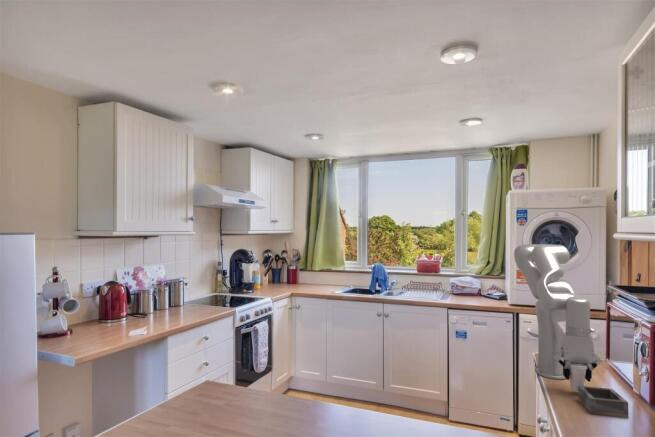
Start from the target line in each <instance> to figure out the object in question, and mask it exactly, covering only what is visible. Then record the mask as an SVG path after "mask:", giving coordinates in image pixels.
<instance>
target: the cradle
mask: <svg viewBox="0 0 655 437" xmlns="http://www.w3.org/2000/svg"><path fill="white" fill-rule="evenodd" d="M577 392H578V393H577V394H578V396H577V397H578V401H579V402H580V403H581V405H583V407H584V408H585V409H586V410H587V411H588V412H589V413H590V414H591V415H595V416H596V415H597V416H605V417H617V418H625V419H629V402H628V400H626V399H625V398H624V397H622V396H621V395H620V394H619V393H618V392H616V390H614V389H613V388H608V387H607V388H606V387H595V386H585V385H584V386H578V391H577Z"/></svg>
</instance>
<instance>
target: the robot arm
mask: <svg viewBox="0 0 655 437" xmlns="http://www.w3.org/2000/svg"><path fill="white" fill-rule="evenodd" d="M513 256H514V262H515V265H516V266H517V268H518V270H519V271H520V272H521V274H522V275H523V277H524V278H525V281H526V283H527V285H528V288H529V290H530V291H531V295H532V296H533V297H534V299H536V300H537V301H536V303H535V306H534V308H535V315H536V318H537V319H536V320H537V337H538V338H537V340H538V341H537V346H538V348H537V349H538V350H537V351H538V356H537V357H538V359H537V360H538V365H537V366H535V367H534V372H535V373H536V374H537V375H538V376H539V375H540V376H542V377H545V378H547V379H553V380H565V379H566V380H569V381H570V370H569V368H568V367H569V365H570V363H571V362H577V363H586V364H587V367H588V368H587V369H586V375H585V381H587V382H591V379H592V378H593V376H592V375H593V371H594V369H595V368H597V367H598V366H599V365H600V364H601V363H602V362H603V360H602V359H601V358H600V357H598V355H596V354H595V346H594V340H593V337H592V335H591V333H595V329H594V328H591V302H590V300H589V299H588V298H585V297H583V296H581V295H580V294H578V293H576V292H575V290H574V288H573V287H572V285H571V283H570V282H569V281H567V280H565V279H562V278H563V277H564V274H565V271H564V268H563V267H562V265H566V264H567V263H568V262H570V258H571V254H570V251H569V249H568V248H567V247H566V246H564V245H562V244H550V243H548V244H547V243H542V244H541V243H539V244H536V243H528V244H521V245H518V246H516V247H515V249H514V253H513ZM560 322H564V323H565V331H564V330H563V328H562V327H561V326H560V325H559V323H560Z"/></svg>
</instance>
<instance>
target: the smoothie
mask: <svg viewBox="0 0 655 437" xmlns="http://www.w3.org/2000/svg"><path fill="white" fill-rule="evenodd" d="M587 368H588V367H587V364H586V363H577V362H571V363H570V365H569V367H568V369H569V370H570V375H569V382H570V383H569V384H570V389H571V390H573V391H575V392H578V386H585V381H586V379H585V375H586V369H587Z"/></svg>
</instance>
